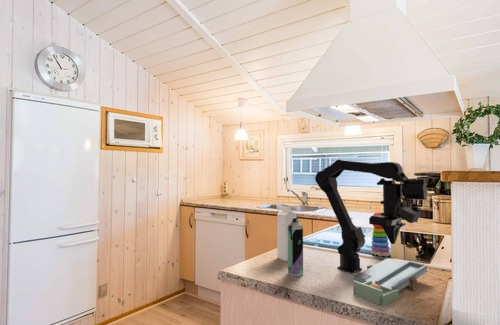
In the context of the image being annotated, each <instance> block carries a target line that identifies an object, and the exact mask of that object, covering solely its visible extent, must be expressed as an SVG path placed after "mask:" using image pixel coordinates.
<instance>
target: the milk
mask: <svg viewBox="0 0 500 325" xmlns="http://www.w3.org/2000/svg"><path fill="white" fill-rule="evenodd" d="M276 216H277V222H276V224H277V228H276V229H277V231H276V232H277V236H276V238H277V241H276V242H277V249H276V250H277V259H280V260H282V261H284V262H288V224H290V223H292V221H293V218H298V216H297V214H296V213H295V212H294V211H292V207H291V206H285V205H282V210H280V211H279V212H278V213H276Z"/></svg>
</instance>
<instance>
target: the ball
mask: <svg viewBox="0 0 500 325" xmlns="http://www.w3.org/2000/svg"><path fill="white" fill-rule="evenodd" d="M370 286H372V287H374V288H377V289H380V290H381V288H380V286H379V285H378V284H375V283H373V284H371V285H370Z"/></svg>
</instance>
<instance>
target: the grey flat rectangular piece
mask: <svg viewBox="0 0 500 325" xmlns="http://www.w3.org/2000/svg"><path fill="white" fill-rule="evenodd" d="M427 272H428V265H426V264H425V263H421V262H418V261H413V260H407V261H406V262H404V261H399V260H396V259H392V258H387V257H386V258H385V259H383V260H381V261H380V262H378V263H376V264H373V266H372V267H370V268H369V269H367V268H366V269H365V270H363V271H362V272H361V271H360V272H358V273H357V274H355V275H354V276H353V281H358V282H360V283H364V282H367V281H372V284H373V283H375V284H378V285H379V286H380V288H381V290H383V291H386V292H391V291H393V290H396V289H397V290H398V292H400V291H402V290H404V289H405V288H404V287H406V286H407V285H410V279H411V278H414V277H415V278H417V279H419V278H420V277H422V276H423V275H425V274H426V273H427Z"/></svg>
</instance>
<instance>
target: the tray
mask: <svg viewBox="0 0 500 325" xmlns="http://www.w3.org/2000/svg"><path fill="white" fill-rule="evenodd" d="M352 282H353V285H352V289H353V290H352V291H353V296H356V297H358V298H361V299H364V300H366V301H369V302H371V303H374V304H376V305H379V306H381V307H383V306H385V305H387V304H390V303H392V302H394V301H396V300H398V299H399V297H400V296H399V291H398V290H397V289H396V290H393V291H391V292H387V291H384V290H380V289H377V288H374V287H372V286H370V285H371V284H372V281H367V282H364V283H361V282H358V281H355V280H353V281H352Z"/></svg>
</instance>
